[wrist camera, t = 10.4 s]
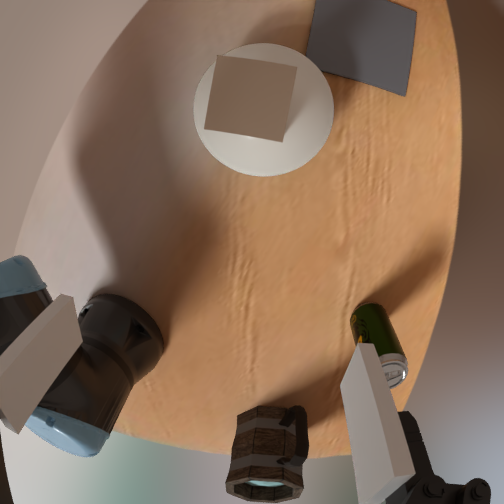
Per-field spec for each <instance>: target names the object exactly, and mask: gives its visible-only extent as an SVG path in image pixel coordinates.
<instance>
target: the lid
mask: <svg viewBox="0 0 504 504" xmlns="http://www.w3.org/2000/svg"><path fill="white" fill-rule="evenodd" d="M193 113H194V121H195V126H196V129H197V132H198V134H199V137H200V139H201V141H202V142H203V144H204V145H205V147H206V148H207V149H208V151H209V152H210V153H211V154H212V155H213V156H214V157H215V158H216V159H217V160H218V161H220V162H221V163H223V164H224V165H225V166H227V167H229V168H231V169H233V170H235V171H238V172H240V173H244V174H248V175H253V176H275V175H280V174H284V173H288V172H290V171H293V170H295V169H297V168H299V167H301V166H303V165H304V164H305V163H307V162H308V161H310V160H311V159H312V158H313V157H314V156H315V155H316V154H317V153H318V152H319V150H320V149H321V148H322V147H323V145H324V143H325V142H326V140H327V138H328V136H329V134H330V131H331V128H332V124H333V118H334V103H333V96H332V93H331V89H330V87H329V84H328V82H327V80H326V78H325V77H324V75H323V74H322V72H321V71H320V70H319V68H318V67H317V66H316V65H315V64H314V63H313V62H312V61H311V60H310V59H308V58H307V57H306V56H304V55H303V54H301V53H299V52H297V51H295V50H293V49H291V48H288V47H285V46H282V45H277V44H270V43H256V44H249V45H245V46H241V47H238V48H236V49H233V50H231V51H229V52H228V53H226V54H224V55H222V56H221V55H217V59H216V61H215V62H214V63H213V64H212V65H211V66H210V67H209V68H208V70H207V71H206V72H205V74H204V75H203V77H202V79H201V80H200V82H199V85H198V87H197V90H196V93H195V97H194V106H193Z"/></svg>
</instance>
